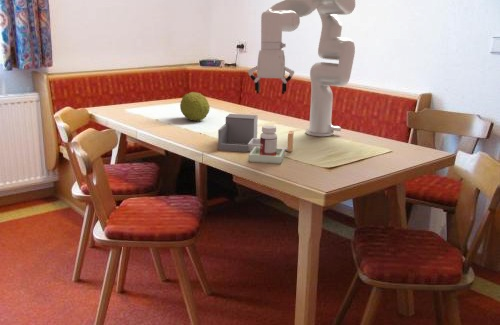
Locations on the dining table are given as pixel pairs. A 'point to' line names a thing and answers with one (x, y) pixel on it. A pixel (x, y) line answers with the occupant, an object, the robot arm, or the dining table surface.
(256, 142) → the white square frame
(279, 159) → the tray
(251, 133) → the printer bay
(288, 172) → the dining table surface
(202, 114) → the fruit
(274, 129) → the pill bottle
